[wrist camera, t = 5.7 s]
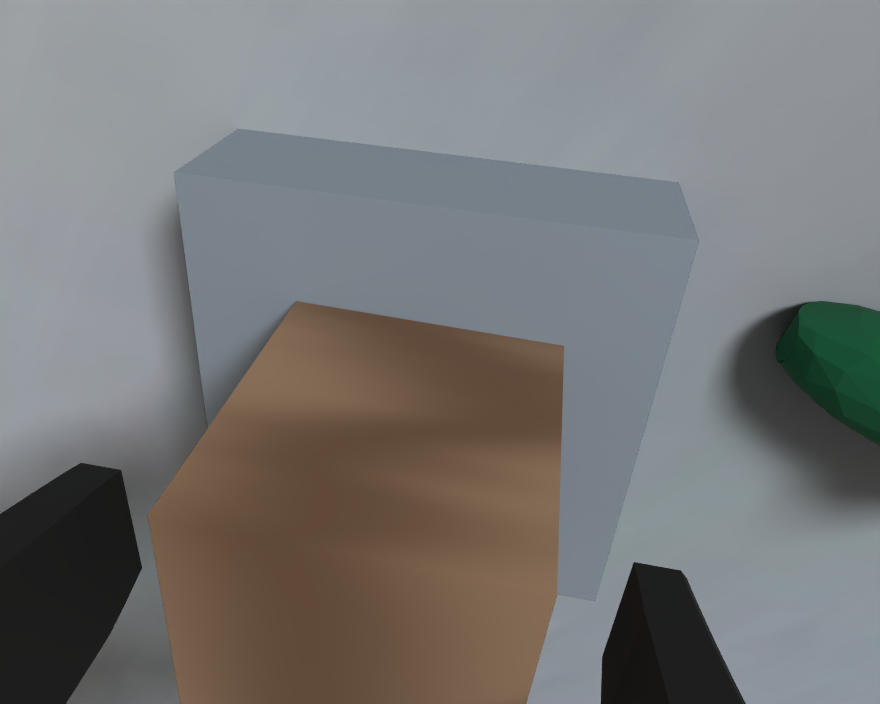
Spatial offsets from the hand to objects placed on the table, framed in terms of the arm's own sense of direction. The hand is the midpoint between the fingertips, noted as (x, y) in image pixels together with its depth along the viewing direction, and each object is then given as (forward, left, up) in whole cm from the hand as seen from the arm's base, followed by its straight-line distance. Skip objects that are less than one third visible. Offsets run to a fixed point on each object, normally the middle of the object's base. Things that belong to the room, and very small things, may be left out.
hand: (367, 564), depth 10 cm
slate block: (0, 0, -6) cm, 6 cm away
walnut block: (0, 0, -3) cm, 3 cm away
